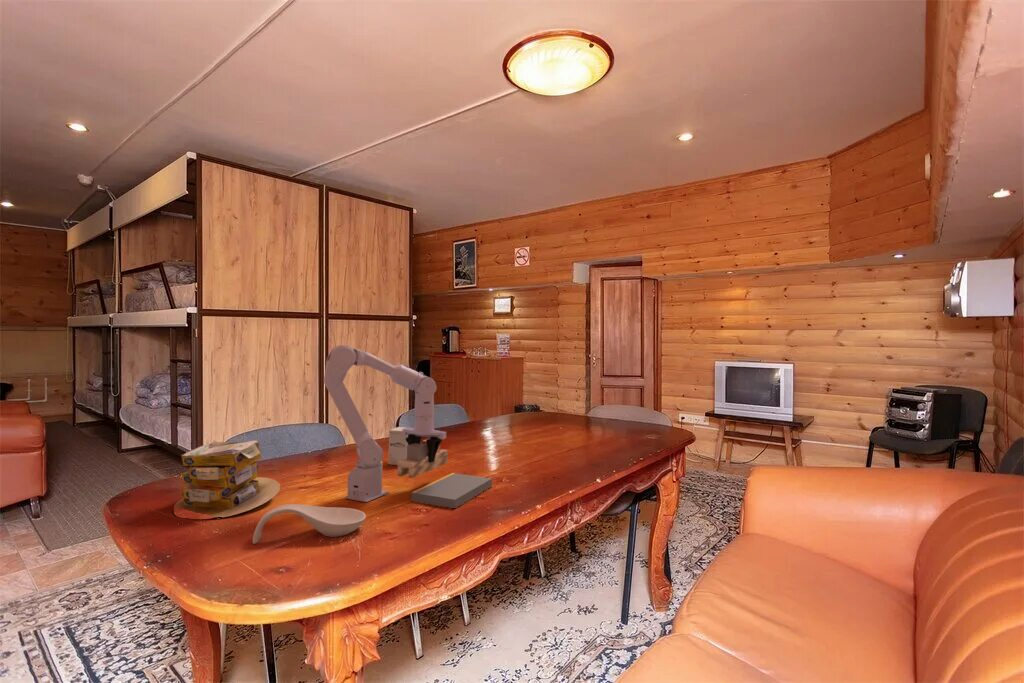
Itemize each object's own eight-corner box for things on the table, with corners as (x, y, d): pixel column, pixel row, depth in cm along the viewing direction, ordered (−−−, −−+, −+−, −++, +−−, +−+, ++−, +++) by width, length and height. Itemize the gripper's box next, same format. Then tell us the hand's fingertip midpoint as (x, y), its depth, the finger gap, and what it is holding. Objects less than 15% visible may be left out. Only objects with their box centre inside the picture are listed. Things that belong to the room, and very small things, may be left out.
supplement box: (387, 464, 171) (388, 429, 171) (398, 460, 178) (398, 426, 178) (406, 466, 169) (406, 431, 169) (416, 461, 176) (416, 427, 176)
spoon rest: (364, 520, 119) (364, 491, 119) (367, 538, 108) (367, 506, 108) (257, 532, 110) (257, 501, 110) (249, 553, 99) (249, 519, 99)
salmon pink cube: (432, 455, 145) (433, 442, 145) (421, 453, 146) (422, 440, 146) (439, 452, 149) (440, 439, 149) (429, 451, 150) (429, 438, 150)
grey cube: (418, 460, 138) (418, 446, 138) (406, 459, 139) (407, 445, 139) (426, 457, 141) (426, 444, 142) (414, 456, 143) (415, 443, 143)
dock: (454, 509, 127) (454, 499, 127) (411, 501, 132) (411, 491, 132) (491, 486, 147) (491, 478, 147) (452, 480, 152) (452, 472, 152)
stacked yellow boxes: (218, 526, 113) (219, 456, 113) (149, 512, 122) (150, 446, 122) (299, 496, 136) (300, 437, 136) (236, 485, 145) (237, 430, 145)
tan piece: (412, 478, 134) (412, 463, 134) (397, 475, 136) (397, 461, 136) (447, 462, 152) (447, 450, 152) (434, 461, 154) (434, 448, 154)
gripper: (451, 415, 145) (451, 460, 145) (412, 412, 150) (411, 455, 150) (439, 419, 138) (438, 465, 138) (398, 415, 144) (397, 460, 144)
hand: (423, 460), depth 144 cm, fingers closed on tan piece, 5 cm apart
